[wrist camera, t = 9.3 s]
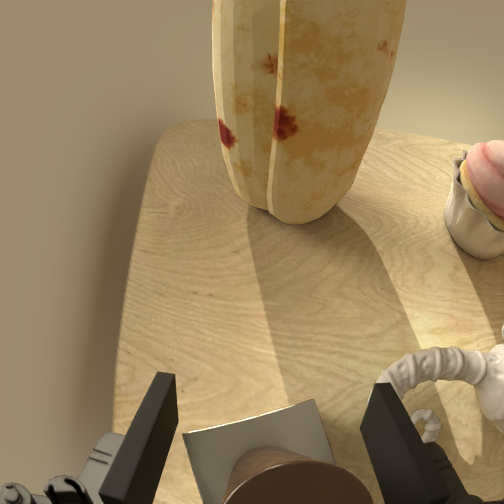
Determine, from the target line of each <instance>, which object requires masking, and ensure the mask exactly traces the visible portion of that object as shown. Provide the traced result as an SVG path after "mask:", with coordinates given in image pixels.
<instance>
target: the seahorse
mask: <svg viewBox="0 0 504 504" xmlns="http://www.w3.org/2000/svg"><path fill="white" fill-rule="evenodd" d="M501 333H502V337H503V339H504V325H503V327H502V330H501ZM427 380H431V381H433V382H436V381H437V380H447V381H453V380H460V381H464V382H467V383H468V384H470V385H473V386H474V388H475V393H476V397H477V401H478V403H479V406H480V410H481V412H482V413H483V414H484V416H485V417H486V419H487V420H489V421H491V422H493V423H494V425H495V427H496V428H497V430H498V431H501V432H502V433H503V434H504V343H503V344H498V345H496V346H494V347H493V348H492V349H491V351H490V352H489V353H482V352H480V351H478V350H473V351H470V350H464V349H459V348H457V347H455V346H451V347H450V348H439V347H431V348H430V349H424V350H420V351H417V352H413V353H405V355H404V357H402V358H400V359H398V360H396V361H395V362H394V363H392V364H391V365H390V366H389V367H388V368H385V369H383V370H382V371H381V374H380V376H379V378H378V379H377V381H376V382H375V383H387V382H390V383H391V384H392V386H393V388H394V390H395V391H396V393H397V395H398V397H399V399H400V400H402V399H403V397H404V394H405V393H406V392H407V391H408V390H410V389H413V388H415V387H416V386H417V384H419V383H421V382H424V381H427ZM373 387H374V386H373ZM372 390H373V388H372ZM372 390H371V393H372ZM371 393H370V396H369V398H368V400H367V406H368V403H369V400H370V397H371ZM366 409H367V408H366ZM410 418H411V420H412V422H413V424H414V426H415V424H416V423H417V422H418V421H419V420H422V419H423V420H424V421H427V424H425V426H424V430H425V432H424V434H423V435H422V437H421V439H422V441H423V443H427V442H432V441H435V440H436V438H437V436H438V434H439V430H440V429H441V428H442V424H441V423H440V419H439V417H438V416H437V415H436V414H435V413H434V412H433V410H431V409H421V410H418V411H415V412H414V413H413V414H412V416H411V417H410Z"/></svg>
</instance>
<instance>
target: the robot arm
mask: <svg viewBox="0 0 504 504" xmlns="http://www.w3.org/2000/svg"><path fill="white" fill-rule="evenodd" d="M178 421H179V420H178V408H177V395H176V381H175V374H171V373H164V372H157V373H156V375H155V377H154V379H153V381H152V383H151V385H150V387H149V389H148V391H147V393H146V395H145V397H144V399H143V401H142V403H141V405H140V407H139V409H138V411H137V413H136V415H135V417H134V419H133V421H132V423H131V425H130V427H129V429H128V431H127V433H126V436H125V435H120V434H116V433H112V432H108V433H107V434H105V435H104V436H102V437H101V438H100V439H99V440H98V442H97V443H96V445H95V447H94V449H93V451H92V452H91V454H90V456H89V459H87V461H86V463H85V465H84V467H83V468H82V470H81V472H80V474H79V476H78V477H77V479H76V478H74V477H72V476H66V475H61V476H56V477H54V478H52V479H50V480H49V481H48V482H47V483H46V484H45V487H44V492H45V494H46V495H47V496H43V495H36V494H30V492H29V491H28V490H27V489H26V488H25V487H24V486H22V485H21V484H18V483H8V484H5V485H3V486H1V487H0V504H152V503H153V500H154V497H155V494H156V490H157V487H158V484H159V481H160V478H161V474H162V471H163V468H164V465H165V462H166V459H167V456H168V452H169V449H170V446H171V443H172V440H173V437H174V434H175V431H176V428H177V424H178ZM360 430H361V433H362V436H363V439H364V442H365V445H366V448H367V451H368V454H369V457H370V460H371V463H372V466H373V469H374V472H375V475H376V478H377V481H378V484H379V487H380V490H381V493H382V496H383V499H384V502H385V504H504V499H503V500H500V501H489V502H483V500H482V499H481V498H479V497H477V496H475V495H470V494H468V493H467V492H466V490H465V488H464V486H463V484H462V482H461V480H460V479H459V477H458V475H457V473H456V471H455V469H454V468H453V467H452V464H451V462H450V461H449V460H448V457H447V455H446V453H445V452H444V450H443V448H441V447H440V446H439V445H438V444H437V443H435V442H434V441H432V442H427V443H423V441H422V439H421V437H420V435H419V433H418V431H417V429H416V428H415V426H414V424H413V422H412V420H411V418H410V417H409V415H408V413H407V411H406V409H405V408H404V406H403V404H402V402H401V400H400V399H399V397H398V395H397V393H396V391H395V390H394V388H393V386H392V384H391V383H390V382H387V383H375V384H374V387H373V390H372V393H371V397H370V400H369V403H368V406H367V409H366V412H365V415H364V418H363V421H362V424H361V426H360Z"/></svg>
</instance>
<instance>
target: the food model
mask: <svg viewBox="0 0 504 504" xmlns="http://www.w3.org/2000/svg"><path fill="white" fill-rule="evenodd" d="M405 7H406V0H213V12H212V42H213V79H214V89H215V100H216V111H217V119H218V126H219V133H220V139H221V145H222V151H223V156H224V159H225V163H226V166H227V169H228V172H229V175H230V178H231V181H232V183H233V186H234V188H235V190H236V192H237V194H238V195H239V196H240V197H241V198H242V200H243V201H244V202H246V203H248V204H250V205H252V206H254V207H257V208H261V209H264V210H269V213H270V214H272V215H273V216H275V217H276V218H278V219H279V220H281V221H282V222H284V223H285V224H304V223H307V222H310V221H313V220H316V219H318V218H320V217H321V216H322V215H324V214H325V213H326V212H328V211H329V210H330V209H331V208H332V207H333V206H334V205H335V204H336V203H337V202H338V201H339V200H340V199H341V198H342V197H343V196H344V195H345V194H346V192H347V191H348V190H349V189H350V188H351V186H352V184H353V181H354V179H355V176H356V173H357V171H358V168H359V166H360V163H361V161H362V158H363V156H364V153H365V151H366V149H367V147H368V144H369V142H370V140H371V137H372V135H373V132H374V129H375V126H376V123H377V120H378V117H379V114H380V110H381V107H382V104H383V102H384V99H385V97H386V93H387V91H388V87H389V83H390V80H391V76H392V72H393V69H394V65H395V60H396V54H397V50H398V45H399V40H400V36H401V31H402V25H403V20H404V14H405Z"/></svg>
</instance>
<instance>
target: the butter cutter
mask: <svg viewBox="0 0 504 504" xmlns="http://www.w3.org/2000/svg"><path fill="white" fill-rule="evenodd" d="M182 436H183V440H184V443H185V447H186V450H187V454H188V457H189V461H190V464H191V467H192V471H193V474H194V477H195V480H196V483H197V486H198V489H199V492H200V495H201V498H202V501H203V504H373V501H372V498H371V496H370V494H369V492H368V490H367V489H366V487H365V486H364V485H363V484H362V482H361V481H360V480H359V479H358V478H356V477H355V476H354V475H353V474H351V473H350V472H348V471H347V470H345V469H343V468H341V467H338V466H337V464H336V461H335V458H334V455H333V453H332V450H331V447H330V444H329V441H328V438H327V435H326V432H325V429H324V426H323V424H322V421H321V418H320V415H319V412H318V409H317V406H316V403H315V401H314V399H310V400H307V401H304V402H301V403H298V404H295V405H292V406H289V407H286V408H283V409H279V410H276V411H273V412H269V413H266V414H262V415H259V416H255V417H252V418H248V419H244V420H240V421H236V422H232V423H228V424H224V425H220V426H215V427H211V428H206V429H202V430H197V431H192V432H187V433H183V434H182Z"/></svg>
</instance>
